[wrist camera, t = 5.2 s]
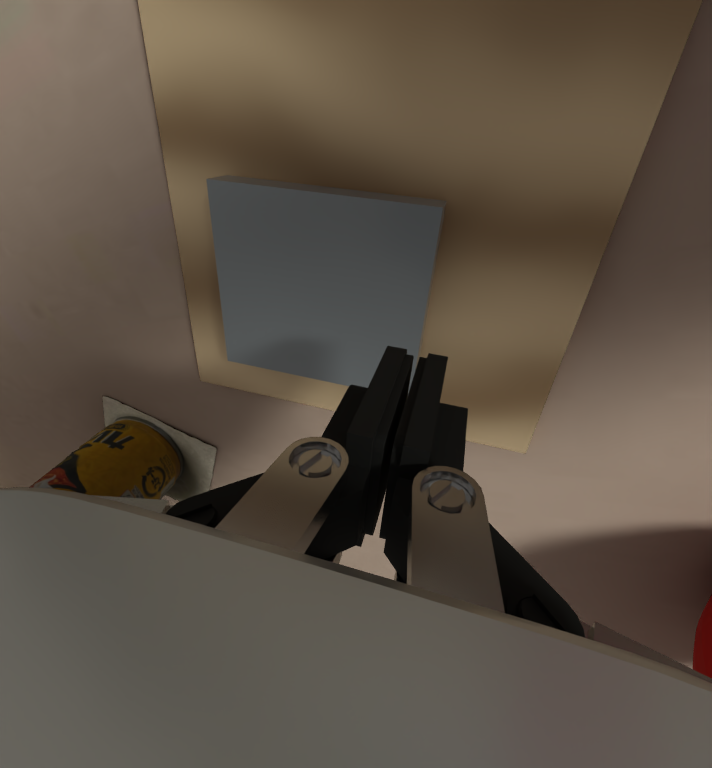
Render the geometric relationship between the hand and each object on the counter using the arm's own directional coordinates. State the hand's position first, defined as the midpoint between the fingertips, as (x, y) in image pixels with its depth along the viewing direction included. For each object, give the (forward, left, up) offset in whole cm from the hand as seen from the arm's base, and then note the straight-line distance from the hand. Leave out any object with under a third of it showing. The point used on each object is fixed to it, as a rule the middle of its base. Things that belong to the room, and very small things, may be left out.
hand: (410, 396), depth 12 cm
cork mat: (-4, -3, -8) cm, 10 cm away
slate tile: (0, 0, -6) cm, 7 cm away
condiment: (+15, -17, -8) cm, 24 cm away
